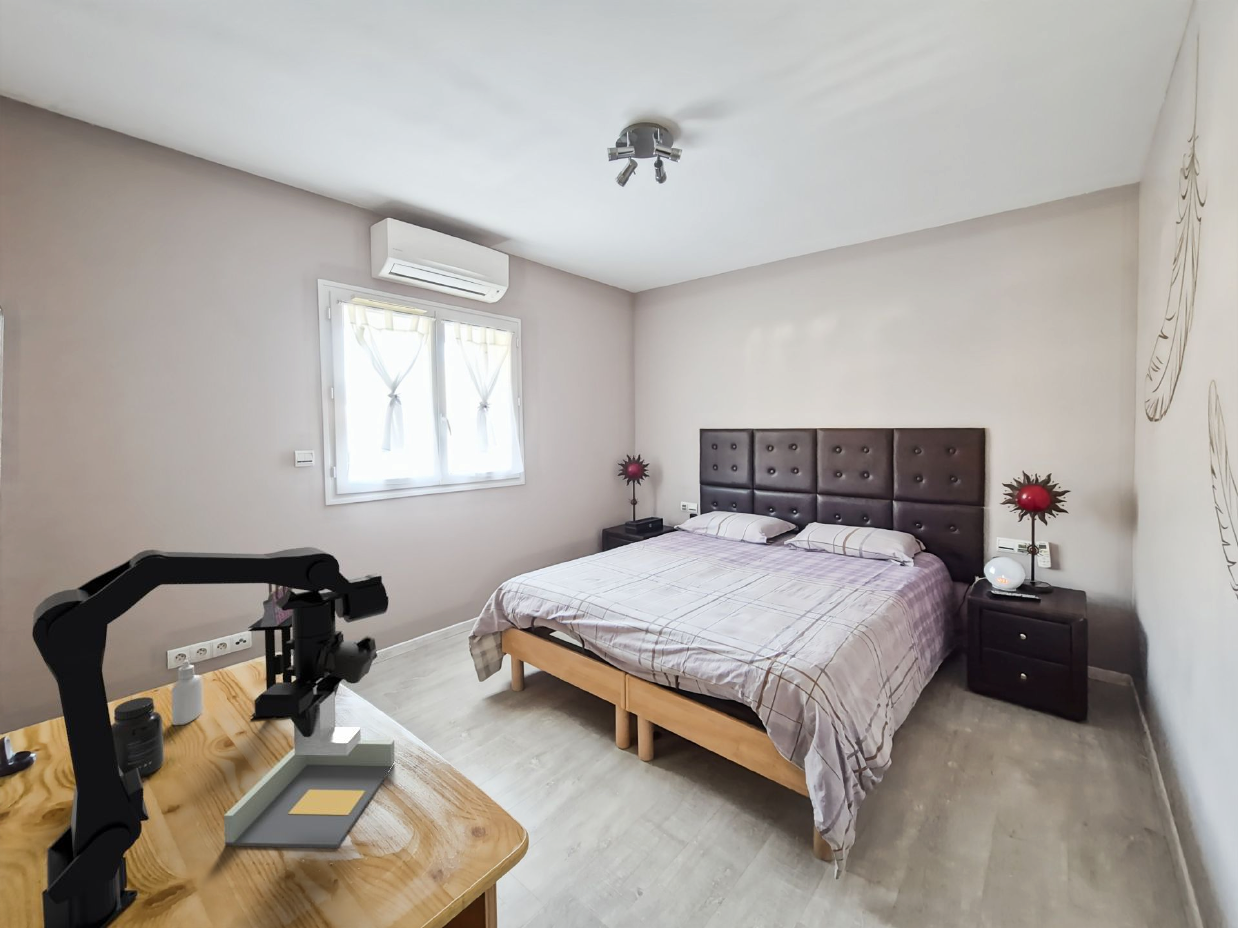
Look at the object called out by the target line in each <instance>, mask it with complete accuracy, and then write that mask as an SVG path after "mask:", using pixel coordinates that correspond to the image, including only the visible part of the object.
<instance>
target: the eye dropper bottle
mask: <svg viewBox="0 0 1238 928" xmlns="http://www.w3.org/2000/svg"><path fill="white" fill-rule="evenodd" d="M202 678H203V677H202V676H201V675H199V674H195V665H194V664H190V661H189V660H188V659H186V660H184V661H183V664H182V666H181V667H179V668H178V680H177V681H176V682H175V683H174V685H173V686H172V688H171V714H172V715H171V717H172V725H174V726H183V725H186V724H188V723H190V722H192V721H194V720H195V719H197V718H198V717H200V716H201V714H202V713H203V712H204V700H203V699H204V698H203V695H204V694H203V681H202V680H203V679H202Z"/></svg>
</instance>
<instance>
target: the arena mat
mask: <svg viewBox="0 0 1238 928" xmlns="http://www.w3.org/2000/svg"><path fill="white" fill-rule="evenodd" d="M390 768H391V766H352V765H306V766H305V767H304V769H303V770H302V771H301V772H300V773H299V774H298V775H297V776H296V777H295V778H294V779H293V780H292V781H291V782H290V783H289V784H288V785H287V786H286V788H285V789H284V790H283V791H282V792H281V793H280V794H279V795H278V796H277V797H276V798H275V799H274V800H273V801H272V802H271V803H270V804H269V805H268V807H267V808H266V809H265V810H264V811H263V812H262V813H261V814H260V815H259V816H258V817H257V818H256V819H255V820H254V821H253V822H252V823H251V824H250V826H249V827H248V828H247V829H246V830H245V831H244V832H243V833H242V834H241V835H240V836H239V837H238V838H237V839H236V840H235V841H234V842H225V841H224V846H228V847H229V846H231V847H271V848H273V847H279V848H280V847H281V848H316V849H317V848H321V849H322V848H323V849H324V848H326V849H327V848H329V849H334V848H335V849H337V848H339V846H340V845H341V844H342V842H343V841H344V839H345V838H346V836H347V835H346V834H349V832H350V830H351V828H352V827H353V826H354V824H355V823H356V822H355V821H357V820H358V819H357V818H359V817H360V816H361V814H362V813H361V812H363V811H364V810H365V809H366V807H367V805H368V804H367V803H368V802H370V801H371V800H370V799H372V798H373V797H374V795H375V794H376V792H377V791H378V789H379V788H380V786H381V785H382V784H383V782H384V781H385V779H386V778H385V776H386V775H387V773H388V771H389V770H390ZM390 771H391V770H390ZM388 774H389V773H388ZM387 776H388V775H387ZM387 776H386V777H387ZM384 778H385V779H384ZM383 780H384V781H383ZM382 781H383V782H382ZM381 783H382V784H381ZM380 784H381V785H380ZM378 787H379V788H378ZM376 790H377V791H376ZM374 793H375V794H374ZM372 796H373V797H372ZM371 797H372V798H371ZM369 800H370V801H369ZM366 804H367V805H366ZM365 806H366V807H365ZM363 809H364V810H363ZM362 810H363V811H362ZM360 813H361V814H360ZM359 815H360V816H359ZM356 819H357V820H356ZM348 831H349V832H348ZM344 837H345V838H344ZM226 843H227V844H226ZM228 843H229V844H228ZM225 844H226V845H225ZM231 844H232V845H231ZM233 845H234V846H233Z"/></svg>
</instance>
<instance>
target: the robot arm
mask: <svg viewBox="0 0 1238 928" xmlns="http://www.w3.org/2000/svg"><path fill="white" fill-rule="evenodd" d="M225 584H226V585H231V584H232V585H233V584H236V585H237V584H239V585H240V584H266V585H267V584H268V585H269V584H272V586H275V585H278V586H283V587H286V588H292V591H291V590H290V589H288V590H287V591H286V593H285V594H284V595H283V596H282V597H281V598H279V599H278V600H277V601H276V602H275V605H276V606H278V607H279V608H280V609H281V610H283V611H286V610H290V609H292V627H291V628H292V630H291V631H292V632H291V633H292V635H291V636H292V638H291V640H290V641H288V642H286V649H291V651H292V664H291V667H289V668H288V669H286V674H287V676H292V677H295V679H294V680H293V681H292V683H284V682H283V681H282V682H280V681H279V682H278V681H276V684H274V685H273V686H271V687H270V688H269V689H266V690H265V691H263V692H262V693H260V694H259V695H258V696H257V697H256V698H255V699H254V703H253V704H254V705H253V707H254V713H255V715H256V716H289V717H288V718H289V719H290V720H291V722H292V723H293V725H294V724H295V725H296V727H297V728H298V730H299V731H300V732H301V734H302V735H303V736H304V737H310V736H311V735H312V732H313V725H314V714H315V705H316V703H317V702H318V701H319V700H320V699H321V698H322V697H323V696H324V694H316V691H335V697H336V696H337V692H338V689H339V687H340V683H342V681H345V682H347V683H349V684H357V683H359V682H360V681H361V680H362V678H364V677H365V676H366V675H368V674H369V672H370V670H371V666H372V663H373V662H374V660H375V659H376V658H378V654H377V651H378V650H377V646H376V639H375V638H374V637H371V636H368V635H366V636H365V637H364V638H362V639H361V640H359V641H355V640H354V641H345V640H344V633H342V630H336V628H337V627H336V616H337V617H338V618H339V619H342V618H343V619H344V622H346V623H353V622H356V621H361V620H363V619H368V618H372V617H375V616H376V617H377V616H380V615H384V614H386V613H387V611H388V607H389V596H388V595H387V590H386V587H385V585H384V583H383V577H382V575H380V574H378V573H371V574H368V575H365V576H362V577H357V578H351V579H348V578H346V577H345V576H344V575H343V574H342V573H341V572H340V564H339V561H338V560H337V559H336V557H335V556H334V555H332V554H331V553H328V552H326V551H324V550H321V549H319V548H316V547H313V546H306V547H305V546H304V547H298V548H289V549H283V550H279V551H274V552H268V553H234V552H233V553H232V552H231V553H230V552H229V553H226V552H225V553H223V552H187V551H186V552H185V551H183V552H182V551H163V550H159V549H148V550H143V551H141V552H138V553H136V555H134V556H133V557H131V558H129V559H128V560H126V561H125V562H123V563H121V564H120V565H117V566H115V567H113V568H112V569H108V570H107V571H105V572H103V573H101V574H100V575H97V576H95V577H93V578H91V579H90V580H89V581H86V582H85V583H84V584H82V585H80V586H78V587H77V588H75V589H67V590H66V589H65V590H63V591H59V592H56V593H54V594H51V595H50V596H48V597H46V598H44V600H43V601H41V602H40V603H39V604H38V605H37V606H36V608H35V610H34V612H33V618H32V619H33V622H32V635H31V636H32V638H33V641H34V644H35V645H36V647H37V649H38V652H39V653H40V655H41V657H42V660H43V661H44V663H45V665H46V667H47V668H48V670H49V671H50V673H51V675H52V676H53V678H54V679H55V681H56V683H57V687H58V693H59V697H60V704H61V708H62V713H63V714H62V715H63V721H64V725H65V732H66V735H67V736H66V737H67V741H68V742H67V743H68V747H69V748H68V749H69V753H70V758H71V764H72V771H73V775H74V780H75V782H74V783H75V787H74V793H73V800H72V810H71V822H70V824H69V826H68V827H67V828H66V829H64V831H63V832H62V833H61V834H60V835H59V836H58V838H56V840H54V842H53V843H52V844H51V845H50V846H49V847H48V848H47V850H46V877H47V878H46V888H45V889H44V890H43V891H42V893H41V896H42V897H41V898H42V913H43V914H42V915H43V928H105V927H106V926H108V924H110V923H111V922H112V921H113V920H114V919H115V918H116V917H117V916H118V915H119V914H120V913H121V912H122V911H123V910H124V909H125V908H126V907H127V906H128V905H129V904H130V903H131V902H132V901H133V900H134V899H136V897H137V896H138V890H135V889H133V890H132V889H131V890H130V889H129V890H127V888H128V879H127V878H128V877H127V858H126V856H125V853H126V852H127V851H128V850H130V849H131V847H132V846H133V845H134V844H135V843H136V841H138V840H139V838H140V836H141V834H142V829H143V824H142V822H144V821H145V822H146V821H148V820H149V819H150V817H149V813H148V809H147V806H146V802H145V799H144V787H143V783H142V779H140V775H139V771H138V768H135V769H133V770H131V771H130V772H128V773H126V774H123V773H122V771H121V769H120V768H119V766H118V762H117V756H116V750H115V745H114V739H113V733H112V727H111V725H112V723H111V715H110V710H109V704H108V699H107V692H106V687H105V679H104V675H103V665H104V658H105V653H106V646H107V634H108V625H109V624H111V623H112V622H114V621H115V620H116V619H118V618H120V617H121V616H123V615H124V614H126V612H127V611H129V610H130V609H132V608H133V607H134V606H135V605H136V604H137V603H139V602H140V601H141V600H142V599H144V597H146V596H147V595H148V594H149V593H150V592H152V591H153V590H155V589H157V588H158V587H160V586H161V585H162V586H165V585H225ZM293 589H294V590H301V591H303V592H298V593H296V592H294V591H293ZM325 590H328V591H327V592H322V591H325ZM104 926H105V927H104Z"/></svg>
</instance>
